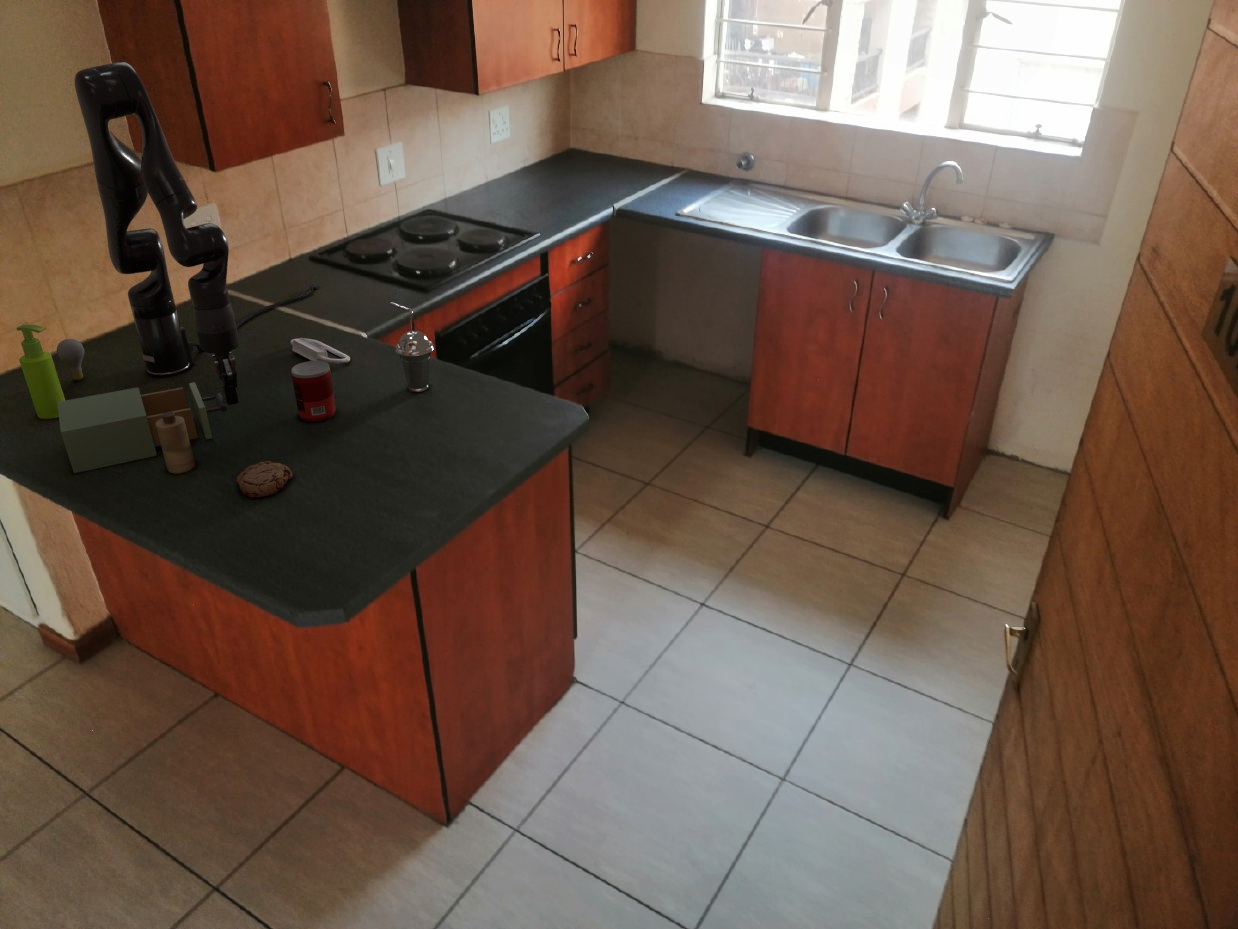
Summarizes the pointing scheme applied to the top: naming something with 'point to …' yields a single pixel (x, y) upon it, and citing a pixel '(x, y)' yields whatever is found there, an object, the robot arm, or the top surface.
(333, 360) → the white long looped piece
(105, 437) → the cabinet
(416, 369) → the cup with straw
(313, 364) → the canned food
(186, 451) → the roller
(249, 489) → the cookie
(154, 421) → the drawer
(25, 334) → the soap dispenser
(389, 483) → the top surface
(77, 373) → the light bulb
